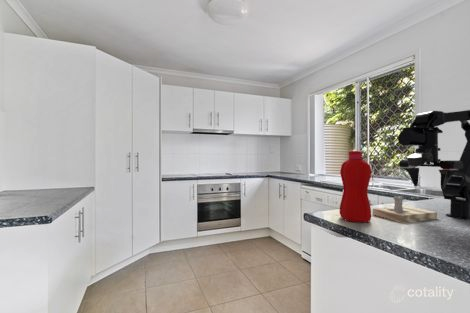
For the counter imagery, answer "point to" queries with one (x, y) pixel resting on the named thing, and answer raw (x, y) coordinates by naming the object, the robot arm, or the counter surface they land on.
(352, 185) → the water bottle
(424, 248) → the counter surface
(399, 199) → the rook chess piece
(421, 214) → the socket block
